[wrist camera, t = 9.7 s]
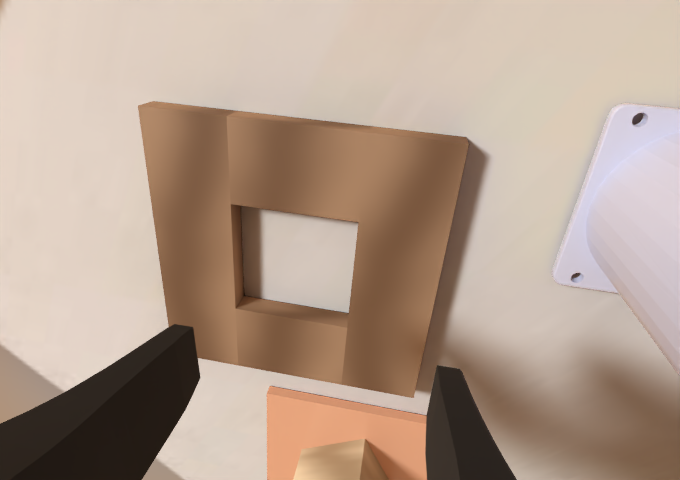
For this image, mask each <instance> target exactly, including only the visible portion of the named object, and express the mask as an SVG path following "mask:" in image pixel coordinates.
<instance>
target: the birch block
mask: <svg viewBox="0 0 680 480" xmlns="http://www.w3.org/2000/svg"><path fill="white" fill-rule="evenodd" d="M293 480H389V479H388V477H387V476H386V474H385V472H384V470H383V469H382V467H381V465H380V463H379V462H378V460H377V458H376V457H375V455H374V453H373V451H372V450H371V448H370V446H369V444H368V443H367V441H366V439H360V440H354V441H348V442H342V443H336V444H330V445H324V446H318V447H312V448H306V449H302V450H301V454H300V457H299V461H298V465H297V468H296V472H295V475H294V479H293Z"/></svg>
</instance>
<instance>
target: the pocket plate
mask: <svg viewBox="0 0 680 480" xmlns="http://www.w3.org/2000/svg"><path fill="white" fill-rule="evenodd" d="M138 110H139V117H140V124H141V131H142V138H143V145H144V153H145V160H146V167H147V174H148V181H149V188H150V195H151V203H152V210H153V217H154V224H155V231H156V238H157V245H158V253H159V260H160V267H161V274H162V281H163V288H164V296H165V303H166V310H167V317H168V324H169V327H170V326H172V325H173V324H178V325H184V326H190V327H193V329H194V336H195V343H196V351H197V358H202V359H207V360H213V361H218V362H223V363H229V364H234V365H239V366H245V367H250V368H255V369H261V370H266V371H272V372H277V373H282V374H288V375H293V376H298V377H304V378H309V379H315V380H320V381H325V382H331V383H336V384H341V385H347V386H352V387H358V388H363V389H368V390H374V391H379V392H384V393H390V394H395V395H400V396H406V397H411V398H414V393H415V389H416V384H417V379H418V375H419V370H420V366H421V361H422V357H423V352H424V348H425V343H426V338H427V334H428V329H429V325H430V320H431V316H432V311H433V307H434V302H435V297H436V293H437V288H438V284H439V279H440V275H441V270H442V265H443V261H444V256H445V252H446V247H447V243H448V238H449V234H450V229H451V224H452V220H453V215H454V211H455V206H456V202H457V197H458V193H459V188H460V183H461V179H462V174H463V170H464V165H465V161H466V156H467V151H468V147H469V143H468V141H467V138H466V137H459V136H451V135H442V134H433V133H424V132H416V131H407V130H398V129H390V128H381V127H372V126H364V125H355V124H346V123H337V122H329V121H320V120H311V119H303V118H294V117H285V116H277V115H268V114H259V113H251V112H242V111H233V110H224V109H216V108H207V107H198V106H190V105H181V104H172V103H164V102H155V101H153V102H149V103H146V104H142V105H139V106H138ZM241 206H248V207H255V208H262V209H269V210H276V211H283V212H290V213H297V214H305V215H312V216H319V217H326V218H333V219H340V220H347V221H354V222H359V223H358V233H357V242H356V251H355V261H354V270H353V280H352V289H351V298H350V308H349V313H343V312H337V311H331V310H325V309H319V308H313V307H307V306H301V305H295V304H289V303H283V302H277V301H271V300H265V299H259V298H253V297H247V296H244V287H243V258H242V229H241Z"/></svg>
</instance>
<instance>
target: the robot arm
mask: <svg viewBox="0 0 680 480" xmlns="http://www.w3.org/2000/svg"><path fill="white" fill-rule="evenodd" d="M638 113H642V114H643V119H642V120H641V122H640V123H638V124H636V125H633V124H632V119H633V117H634V116H635V115H636V114H638ZM575 273H581V274H580V276H579V277H577V278H571V276H572V275H573V274H575ZM552 277H553V279H554V281H555V282H556V283H558V284H561V285H566V286H573V287H579V288H586V289H593V290H599V291H606V292H613V293H619V294H620V295H621V297H622V298H623V299H624V301H625V302H626V304H627V305H628V306H629V308H630V309H631V310H632V312H633V313H634V314H635V316H636V317H637V319H638V320H639V321H640V323H641V324H642V325H643V327H644V328H645V329H646V331H647V332H648V334H649V335H650V336H651V338H652V339H653V340H654V342H655V343H656V344H657V346H658V347H659V349H660V350H661V351H662V353H663V354H664V355H665V357H666V358H667V359H668V361H669V362H670V364H671V365H672V366H673V368H674V369H675V370H676V372H677V373H678V374H679V376H680V108H671V107H661V106H651V105H641V104H631V103H622V104H619V105H617V106H615V107H614V108H613V109H612V110H611V111H610V113H609V114H608V117H607V119H606V122H605V125H604V128H603V130H602V133H601V136H600V139H599V141H598V144H597V147H596V150H595V153H594V155H593V158H592V161H591V164H590V166H589V169H588V172H587V175H586V177H585V180H584V183H583V186H582V189H581V191H580V194H579V197H578V200H577V202H576V205H575V208H574V211H573V214H572V216H571V219H570V222H569V225H568V227H567V230H566V233H565V236H564V238H563V241H562V244H561V247H560V250H559V252H558V255H557V258H556V261H555V263H554V266H553V269H552ZM199 379H200V372H199V365H198V358H197V351H196V343H195V336H194V329H193V327H190V326H184V325H178V324H173V325H172V326H170V327H169V328H167V329H165V330H164V331H162V332H161V333H159V334H158V335H156V336H155V337H153V338H152V339H150V340H149V341H147V342H146V343H144V344H142V345H141V346H139V347H138V348H136V349H135V350H133V351H132V352H130V353H129V354H127V355H126V356H124V357H122V358H121V359H119V360H118V361H116V362H115V363H113V364H112V365H110V366H108V367H107V368H105V369H103V370H102V371H100V372H98V373H97V374H95V375H93V376H92V377H90V378H88V379H87V380H85V381H83V382H82V383H80V384H78V385H77V386H75V387H73V388H71V389H70V390H68V391H66V392H64V393H62V394H61V395H59V396H57V397H55V398H53V399H51V400H49V401H47V402H45V403H43V404H41V405H39V406H38V407H35V408H33V409H31V410H29V411H27V412H25V413H23V414H21V415H19V416H16V417H14V418H12V419H10V420H7V421H6V422H3V423H1V424H0V480H142V478H143V477H144V475H145V474H146V472H147V470H148V469H149V467H150V466H151V464H152V462H153V461H154V459H155V458H156V456H157V455H158V453H159V451H160V450H161V448H162V447H163V445H164V443H165V442H166V440H167V439H168V437H169V435H170V434H171V432H172V431H173V429H174V427H175V426H176V424H177V423H178V421H179V419H180V418H181V416H182V414H183V413H184V411H185V409H186V407H187V405H188V403H189V401H190V399H191V397H192V395H193V393H194V390H195V388H196V386H197V384H198V381H199ZM425 456H426V471H427V480H517V479H516V478H515V476H514V474H513V473H512V471H511V469H510V468H509V466H508V464H507V463H506V461H505V459H504V458H503V456H502V454H501V452H500V451H499V449H498V447H497V445H496V443H495V442H494V440H493V438H492V436H491V434H490V432H489V430H488V428H487V426H486V424H485V422H484V420H483V418H482V416H481V414H480V412H479V410H478V408H477V406H476V404H475V402H474V399H473V397H472V395H471V393H470V390H469V388H468V385H467V383H466V380H465V378H464V375H463V373H462V371H461V370H460V369H457V368H451V367H444V366H438V365H437V368H436V373H435V378H434V383H433V387H432V392H431V397H430V402H429V407H428V412H427V417H426V447H425Z"/></svg>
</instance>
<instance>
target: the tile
mask: <svg viewBox="0 0 680 480" xmlns="http://www.w3.org/2000/svg"><path fill="white" fill-rule="evenodd" d="M426 417H427V416H425V415H420V414H414V413H409V412H404V411H399V410H393V409H388V408H383V407H378V406H372V405H367V404H362V403H357V402H351V401H346V400H341V399H336V398H330V397H325V396H320V395H314V394H309V393H304V392H299V391H293V390H288V389H283V388H278V387H272V386H270V387H269V390H268V392H267V480H293V479H294V475H295V472H296V468H297V465H298V461H299V457H300V454H301V450H302V449H306V448H312V447H318V446H324V445H330V444H336V443H342V442H348V441H354V440H360V439H366V441H367V443H368V444H369V446H370V448H371V450H372V451H373V453H374V455H375V457H376V458H377V460H378V462H379V463H380V465H381V467H382V469H383V470H384V472H385V474H386V476H387V477H388V479H389V480H427V471H426V456H425V447H426Z"/></svg>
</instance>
